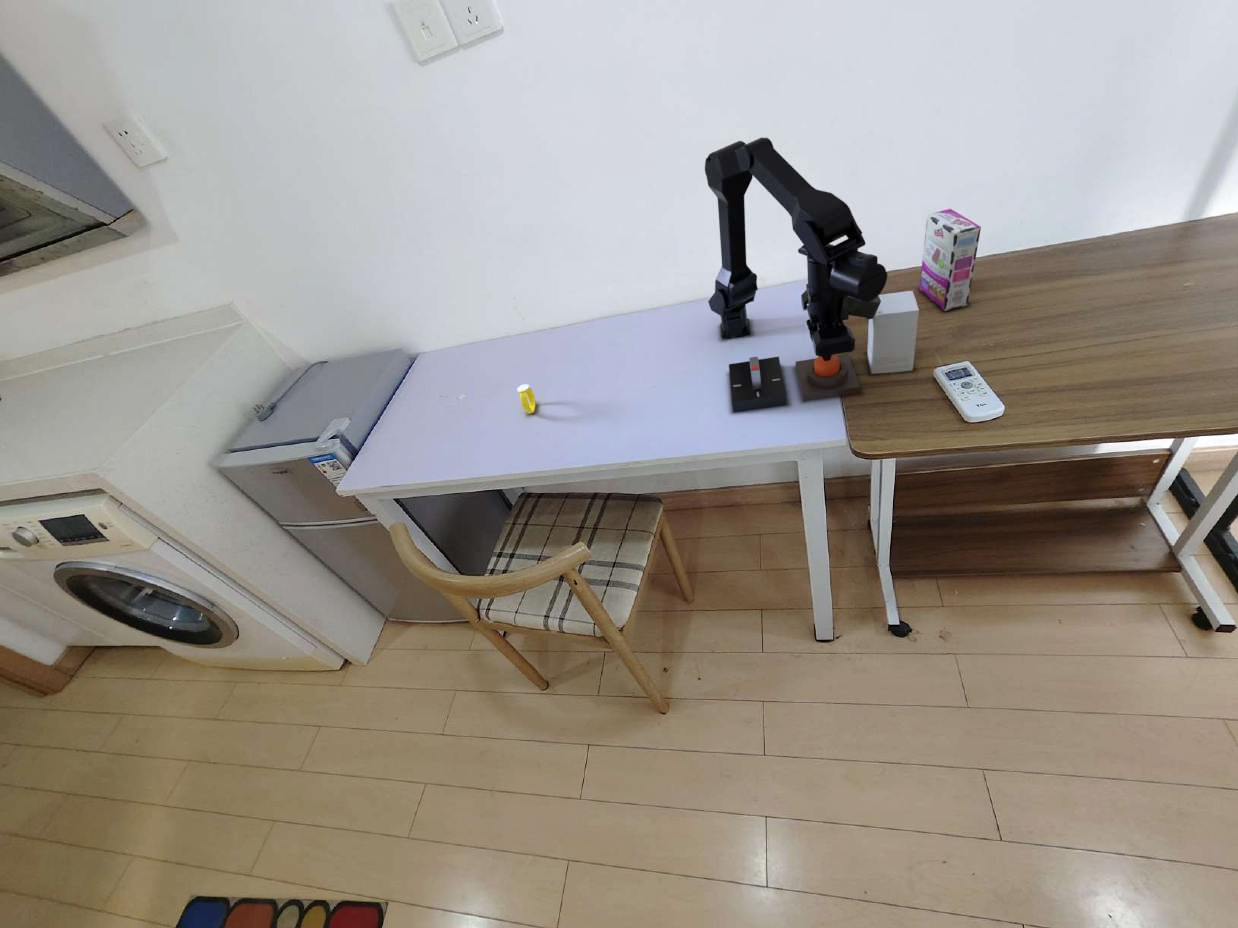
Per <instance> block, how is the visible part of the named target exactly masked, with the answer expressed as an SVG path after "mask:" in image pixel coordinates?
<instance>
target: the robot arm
mask: <svg viewBox="0 0 1238 928" xmlns="http://www.w3.org/2000/svg"><path fill="white" fill-rule="evenodd" d="M704 173H705V177H706V180H707V181H706V182H707V186H708V188H709V189H710V190H711V192H712V193H713V194H714V195H715V197H716V199H717V209H718V210H717V211H718V224H719V241H720V256H721V257H720V258H721V267H720V269H719V271H718V273H717V276H716V277H715V280H714V281H715V282H714V293H713V294H712V295H711V297H710V298H709V300H708V301H707V302H708V305H709V308H710V311H712V312H713V313H715V314H717V315H719V317H720V321H721V323H720V335H721V336H720V337H721V339H722V340H725V339H731V338H737V337H743V336H750V335H751V333H752V331H751V324H750V319H749V318H748V314H747V305H748V304H749V303H752V302H755V297H756V293H757V291H758V290H759V289H758V276H757V275H758V274H756V273H755V272H754V271H752V270H751V268H750V267H749V266H748V264H747V241H746V240H747V237H746V236H747V235H746V211H745V210H746V207H745V204H746V203H745V196H746V193H747V191H748V189H749V186H750V184H751V182H752V181H753V178H755V179H756V180H757V182H759V184H760V185H761V186H762V187H763V188H764V189H765V190H766V191H767V192H768V193H769V194H770V195H771V196H772V197H773V199H774V200H775V201H776V202H778V204H779V205H780V206H781V207H782V208H783V209H784V210H785V211H786V212H787V214H789V216H790V217H791V225H792V227H791V228H792V231H793V232H794V233H795V235H796V236H797V237H798V239H799V240H800V242H801V244H803V245H801V247H799V248H798V250H797V253H799V254H801V255H803V256H806V267H807V268H806V269H807V283H806V284H805V287H806V289H805V291H804V292H803V293H802V294H801V295H800V299H801V307H802V311H807V315H808V318H809V319H807V320H806V326H807V329H808V331H809V337H810V340H811V342H812V346H813V351H814V354H815V356H817V357H820V356H821V357H822V358H823V360H824V361H829V360H830V359H831V356H832V355H841V354H848V353H852V352H854V351H855V349H856V338H855V336H854V332H853V331H852V328H850V327H848V326H847V325H845V322H844V321H849V320H850V319H849V316H852V317H859V318H865V319H867V320H869V319H873V318H874V316H875V314H876V312H877V310H878V307H879V305H880V303H881V300H880V298H879V296H878V295H881V293H882V292H883V290H884V289H885V286H886V284H887V281H888V272H887V269H886V268H885V266H884V265H883V264H881V263H879V262H878V261H879V260H878V259H879V258H878V255H875V254H872V253H865V252H861V251H859V249H860V248H862V247H864V246H865V245H866V241H865V238H864V236H863V231H862V230H861V228H860V226H859V225H858V224H857V221H856V219H855V217H854V215H853V212H852V210H851V208H850V206H849V204H847V203H846V202H845V201H844V200H842V199H841V198H839V197H838V196H837V195H835V194H834V193H832V192H829V191H824V190H820V189H817V188H815V187H813V186H812V185H811V184H810V183H809V182H808V181H807V180H806V179H805V178H804V177H803V176H802V175H801V174H800V173H799V172H798V170H796V169H795V168H794V167H793V166H792V165H791V164H790V163H789V161H787V160H786V159H785V158H784V157H783V155H781V154H780V152H778V151H777V150H776V149H775V148H774V144H773V142H772V140H771V139H770V138H768V137H762V136H761V137H759V138H757V139H755V140H752V141H750V142H748V143H746V142H744V141H742V140H737V141H735V142H733V143H730V144H728V145H726V146H723V147H722V148H720V149H717V150H715V151H713V152H711V153H709V154H708V156H707V157H706V158H705V162H704ZM845 236H846V239H845V240H843V241H841V242H839V243H837V244H832V243H834V242H836V241H837V240H839V239H842V238H843V237H845Z"/></svg>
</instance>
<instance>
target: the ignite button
mask: <svg viewBox="0 0 1238 928" xmlns="http://www.w3.org/2000/svg"><path fill="white" fill-rule="evenodd" d="M835 355H836V354H834V355H832V356H831V359H830V360H829V361H824V360H823V358H822V357H821V356H820V357H819V356H817V357H815V358H816V359H815V358H814V359H815V361H814V369H815V373H816V374H817V375H818V376H824V377H827V376H833V375H835V374H837V373H838V372H839V358H838V357H837V356H835Z"/></svg>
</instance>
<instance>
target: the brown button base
mask: <svg viewBox="0 0 1238 928" xmlns="http://www.w3.org/2000/svg"><path fill="white" fill-rule="evenodd" d="M849 354H850V353H840V354H834V355H835V356H837V357H838V358H839V372H838V373H837V374H835V375H833V376H827V377H824V376H818V375H817V374H816V373H815V369H814V361H815V359H816V358H817V357H815V358H810V359H809V358H808V359H803V360H797V361H795V372H796V376H797V381H798V385H799V389H800V393H801V398H802V401H803V402H807V401H808V402H810V401H816V400H824V399H830V398H839V397H846V396H853V395H859V394H861V386H860V383H859V380H858V377H857V375H856V371H855V368H854V365H853V363H852V359H851V357H850V355H849Z"/></svg>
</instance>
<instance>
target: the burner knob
mask: <svg viewBox="0 0 1238 928" xmlns="http://www.w3.org/2000/svg"><path fill="white" fill-rule="evenodd" d="M758 360H759V356H752V357H749V358H748V361H750V369H751V377H752V385H753V391H754V390H761V389H762V387H761V378H760V369H759V362H758Z"/></svg>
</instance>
